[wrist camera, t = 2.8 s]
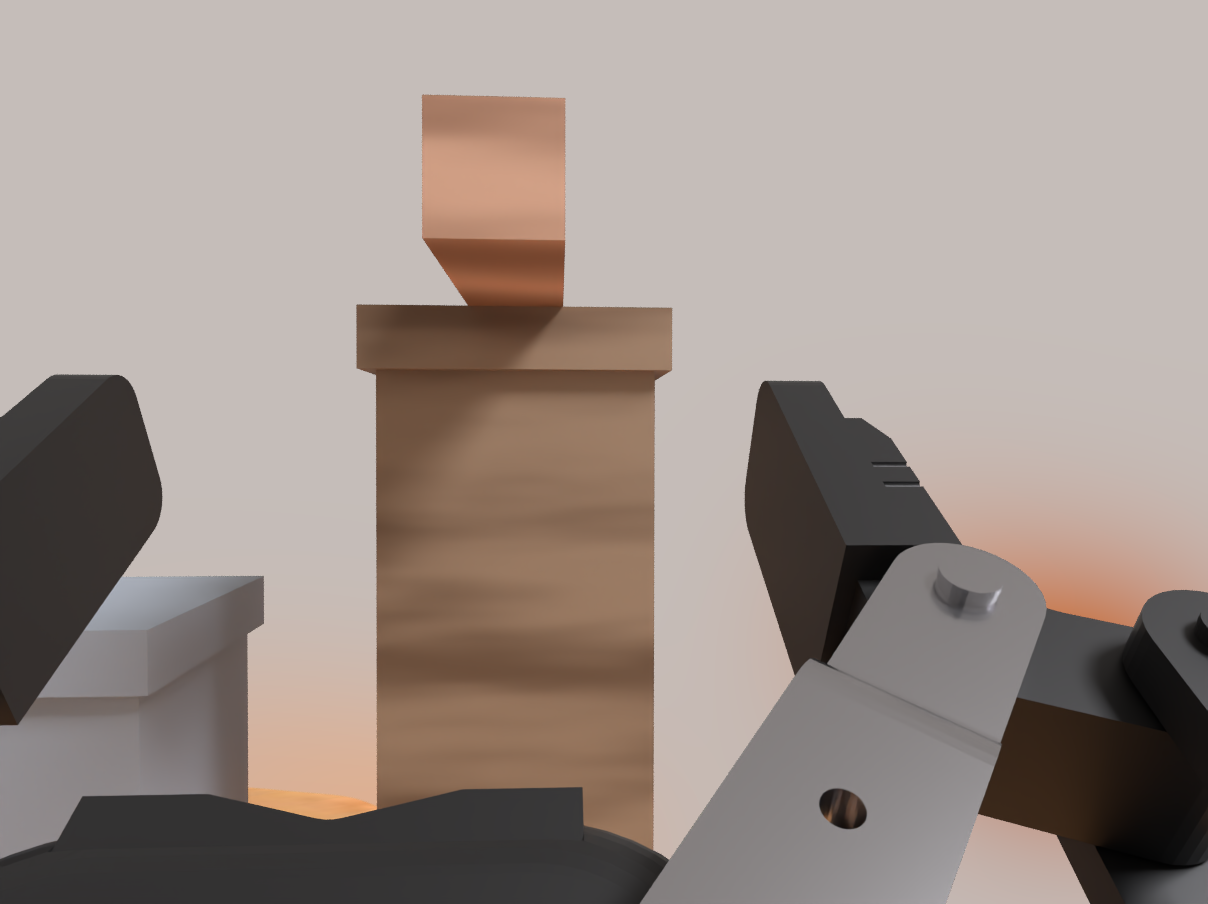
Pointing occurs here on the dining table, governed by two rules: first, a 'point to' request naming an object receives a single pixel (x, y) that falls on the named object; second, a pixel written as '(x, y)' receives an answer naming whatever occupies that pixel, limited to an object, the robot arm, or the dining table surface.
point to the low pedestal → (137, 706)
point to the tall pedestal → (516, 551)
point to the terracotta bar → (496, 196)
